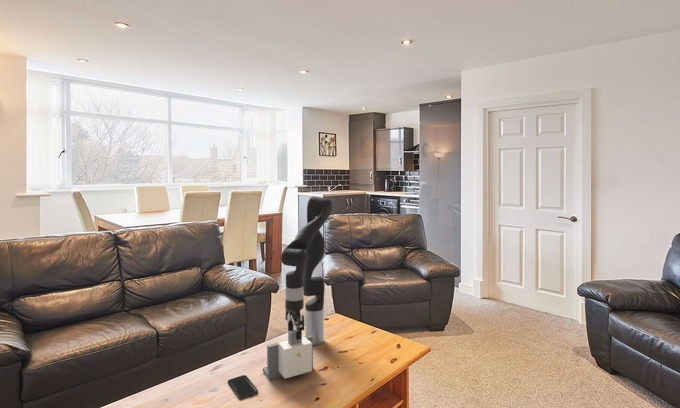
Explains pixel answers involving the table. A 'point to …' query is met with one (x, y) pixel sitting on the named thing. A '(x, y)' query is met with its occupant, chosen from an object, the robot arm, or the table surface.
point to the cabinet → (294, 356)
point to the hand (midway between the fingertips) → (294, 335)
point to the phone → (242, 387)
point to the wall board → (272, 360)
